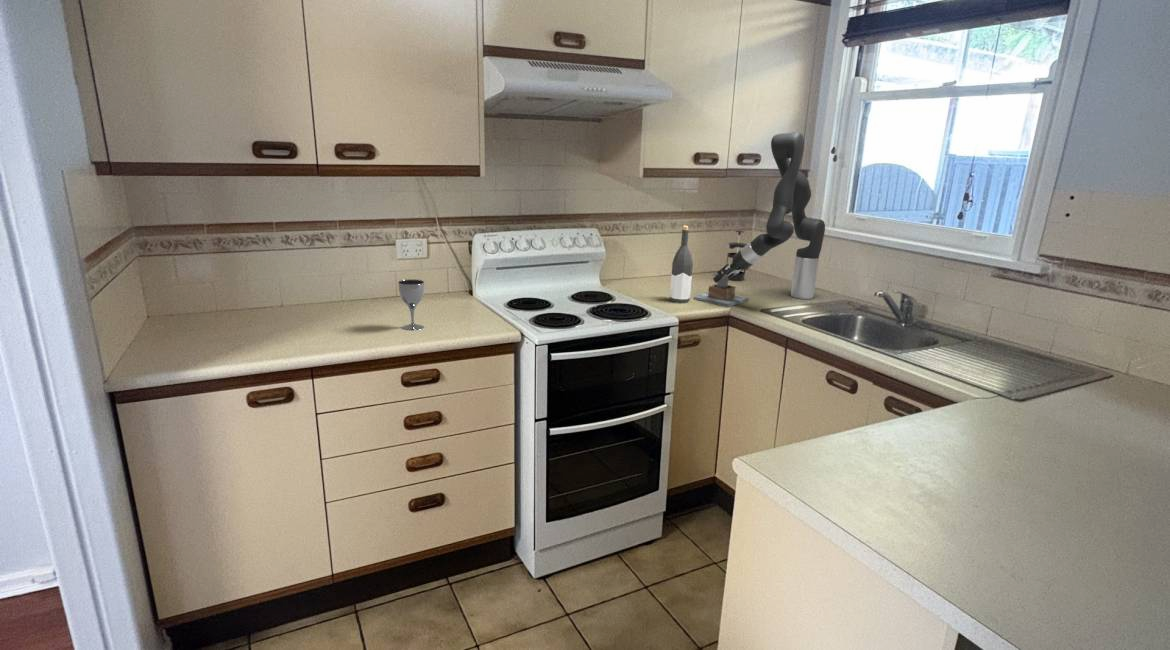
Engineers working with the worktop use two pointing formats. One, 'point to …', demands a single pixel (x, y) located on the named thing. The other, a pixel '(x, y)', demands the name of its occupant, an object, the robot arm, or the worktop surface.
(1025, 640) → the worktop surface
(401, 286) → the wine glass
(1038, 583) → the worktop surface
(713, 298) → the socket
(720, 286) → the grey cylinder
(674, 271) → the wine bottle
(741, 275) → the french press
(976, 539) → the worktop surface
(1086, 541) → the worktop surface
